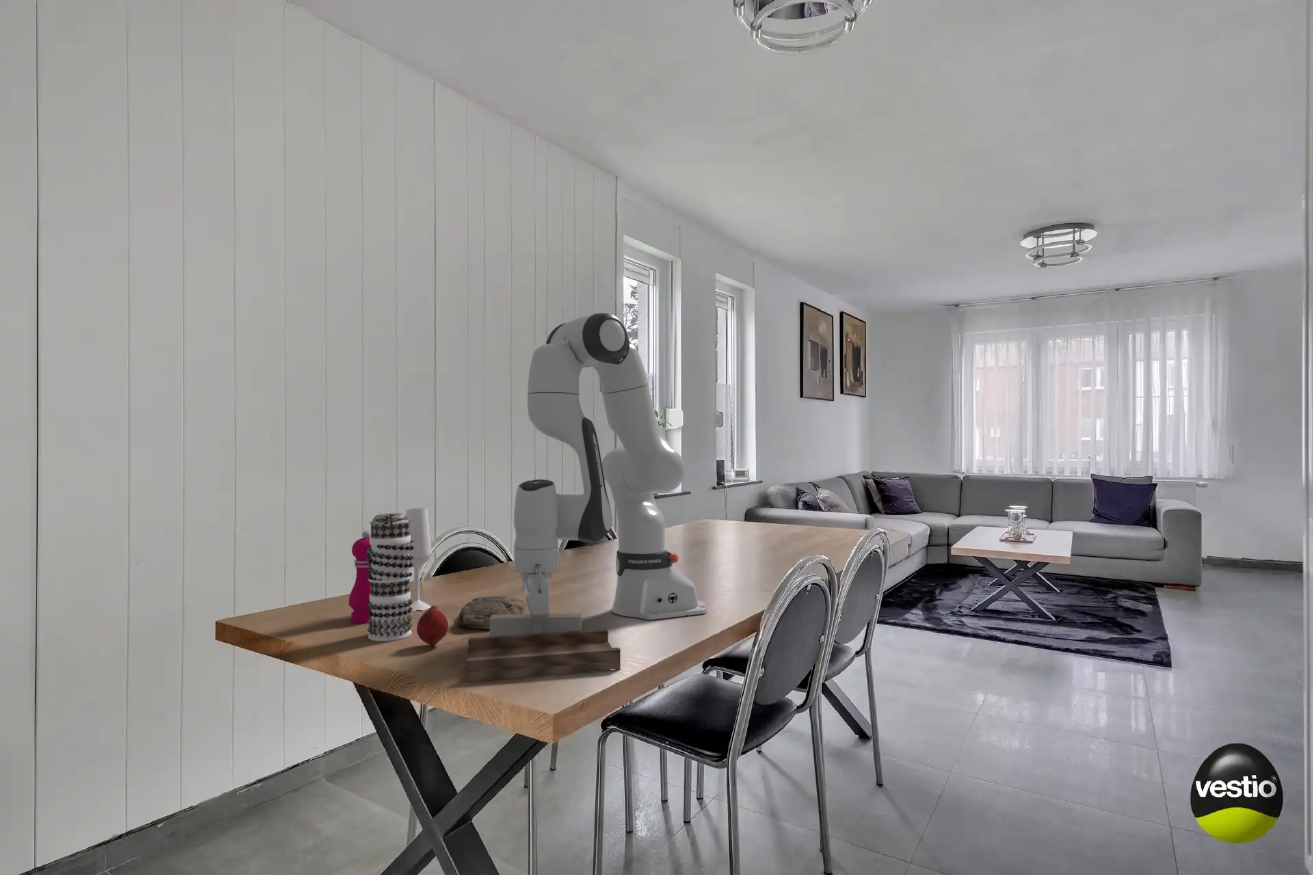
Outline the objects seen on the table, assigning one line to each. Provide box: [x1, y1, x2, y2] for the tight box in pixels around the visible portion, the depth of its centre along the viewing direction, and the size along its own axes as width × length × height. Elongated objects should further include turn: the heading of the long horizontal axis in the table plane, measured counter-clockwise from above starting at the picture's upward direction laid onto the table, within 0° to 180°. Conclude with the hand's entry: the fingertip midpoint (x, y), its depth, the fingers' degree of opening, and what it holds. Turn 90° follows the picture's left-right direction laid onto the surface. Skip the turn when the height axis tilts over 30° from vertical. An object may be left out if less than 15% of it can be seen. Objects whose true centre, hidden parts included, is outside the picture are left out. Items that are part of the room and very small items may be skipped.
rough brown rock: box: [455, 595, 526, 630], centre depth 156 cm, size 14×5×20 cm
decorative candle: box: [366, 512, 414, 642], centre depth 144 cm, size 9×9×25 cm
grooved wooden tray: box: [466, 628, 621, 683], centre depth 125 cm, size 26×14×4 cm, turn 104°
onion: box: [416, 604, 449, 647], centre depth 136 cm, size 6×6×8 cm
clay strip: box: [489, 612, 583, 637], centre depth 140 cm, size 18×3×5 cm, turn 93°
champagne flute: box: [405, 506, 432, 612], centre depth 168 cm, size 7×7×24 cm
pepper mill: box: [348, 530, 371, 624], centre depth 157 cm, size 7×7×20 cm
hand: (536, 629), depth 140 cm, fingers closed on clay strip, 3 cm apart
